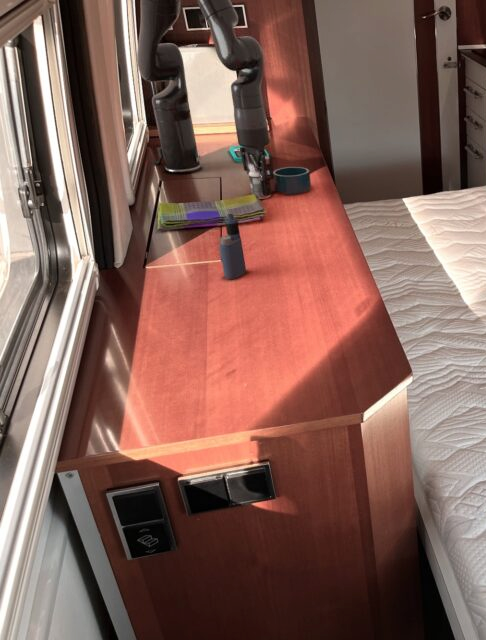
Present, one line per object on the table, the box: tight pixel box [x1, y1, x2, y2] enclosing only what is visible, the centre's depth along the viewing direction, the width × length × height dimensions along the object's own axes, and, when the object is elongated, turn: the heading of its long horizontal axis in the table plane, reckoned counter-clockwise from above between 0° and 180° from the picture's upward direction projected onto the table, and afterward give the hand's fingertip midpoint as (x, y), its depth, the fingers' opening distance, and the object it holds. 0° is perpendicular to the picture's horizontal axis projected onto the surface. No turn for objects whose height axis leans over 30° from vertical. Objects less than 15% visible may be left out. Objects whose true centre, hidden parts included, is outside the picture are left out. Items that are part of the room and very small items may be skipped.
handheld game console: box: [229, 145, 270, 163], centre depth 246 cm, size 10×16×1 cm, turn 24°
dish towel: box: [157, 194, 268, 231], centre depth 194 cm, size 18×24×3 cm
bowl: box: [273, 166, 312, 196], centre depth 213 cm, size 9×9×5 cm
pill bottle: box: [248, 164, 272, 200], centre depth 207 cm, size 5×5×8 cm
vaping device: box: [218, 214, 247, 280], centre depth 159 cm, size 3×5×12 cm, turn 161°
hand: (261, 191), depth 208 cm, fingers open, 6 cm apart
